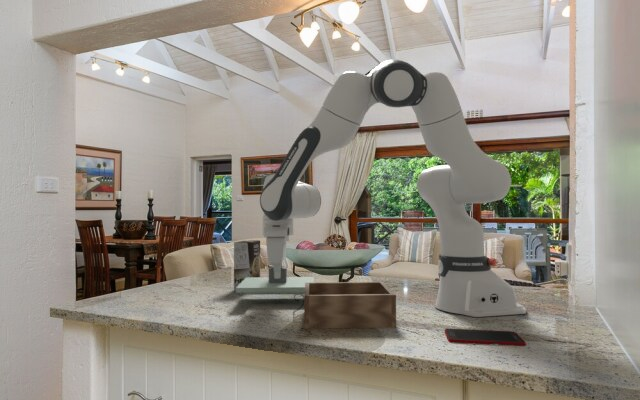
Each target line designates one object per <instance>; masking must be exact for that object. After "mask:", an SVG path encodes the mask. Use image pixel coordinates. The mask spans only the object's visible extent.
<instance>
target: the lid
mask: <svg viewBox="0 0 640 400" xmlns="http://www.w3.org/2000/svg"><path fill="white" fill-rule="evenodd" d="M287 269H288V267H283V266H282V268H281V277H280V278H279V279H275V278H274V268H273V267H269V268H268V277H266V276H264V277H261V276H260V277H248V278H245V279H244V280H243V281H242V282H241V283H240V284H239V285H238V286H237V287H236V291H235V293H243V295H245V296H246V295H248V296H249V295H252V296H253V295H255V296H257V295H260V296H261V295H262V296H264V295H304V294H305V283H312V282H315V277H314V276H287V275H288V274H287V273H288V270H287Z"/></svg>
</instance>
